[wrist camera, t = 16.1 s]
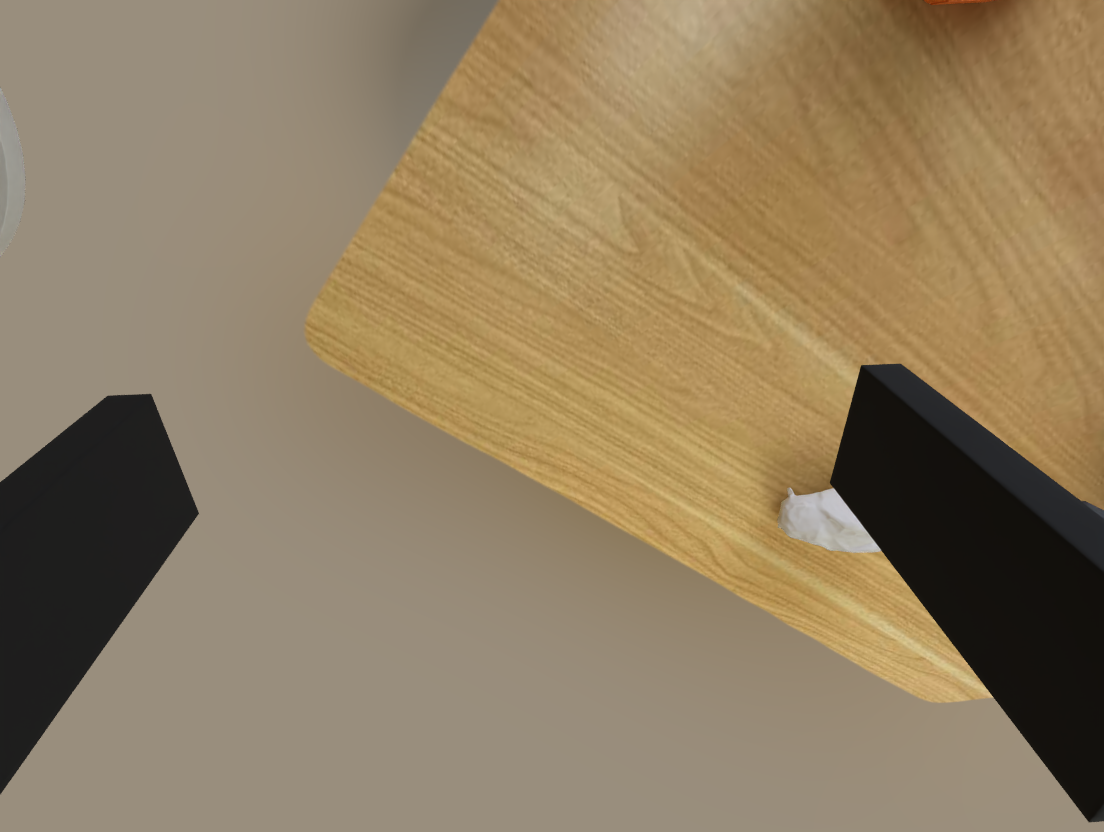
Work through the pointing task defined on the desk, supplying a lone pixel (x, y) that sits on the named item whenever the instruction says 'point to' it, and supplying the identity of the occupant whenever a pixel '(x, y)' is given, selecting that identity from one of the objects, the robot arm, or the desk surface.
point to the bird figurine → (824, 522)
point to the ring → (954, 1)
